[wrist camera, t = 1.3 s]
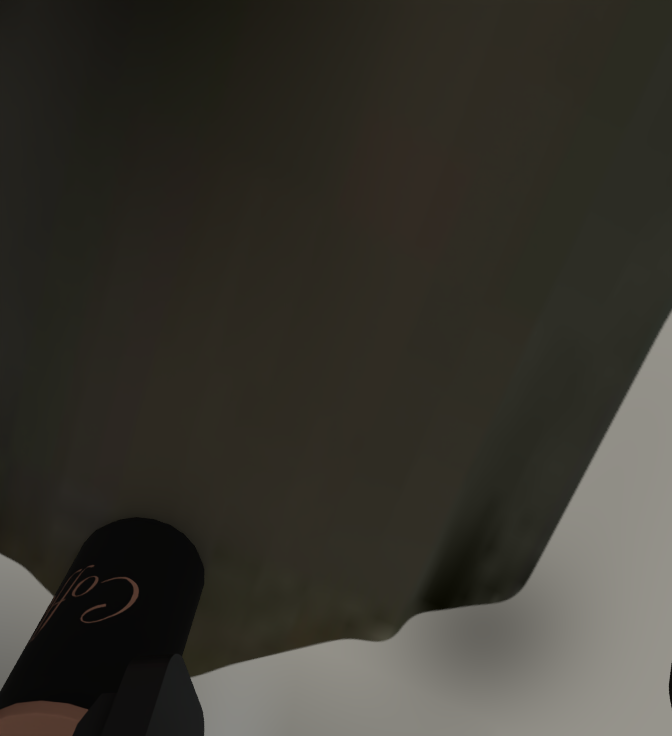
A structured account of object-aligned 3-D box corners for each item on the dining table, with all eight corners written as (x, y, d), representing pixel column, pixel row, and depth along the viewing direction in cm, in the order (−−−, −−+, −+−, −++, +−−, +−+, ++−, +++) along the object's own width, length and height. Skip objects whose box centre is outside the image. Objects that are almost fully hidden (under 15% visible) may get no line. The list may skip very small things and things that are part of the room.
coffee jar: (172, 497, 53) (85, 698, 37) (228, 587, 57) (172, 802, 41) (62, 529, 55) (-65, 732, 39) (124, 614, 59) (33, 828, 43)
